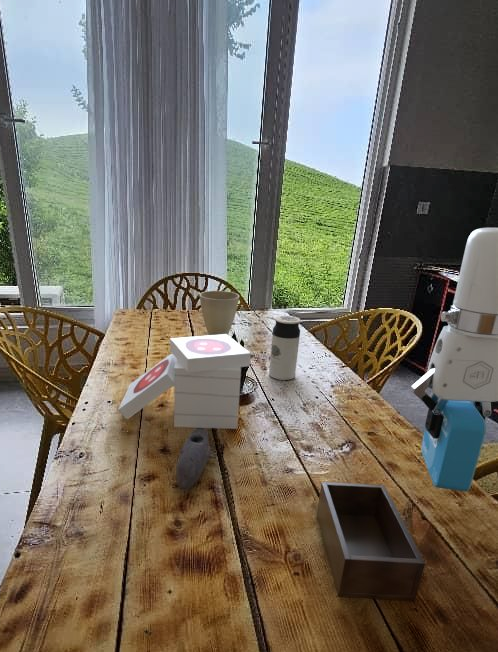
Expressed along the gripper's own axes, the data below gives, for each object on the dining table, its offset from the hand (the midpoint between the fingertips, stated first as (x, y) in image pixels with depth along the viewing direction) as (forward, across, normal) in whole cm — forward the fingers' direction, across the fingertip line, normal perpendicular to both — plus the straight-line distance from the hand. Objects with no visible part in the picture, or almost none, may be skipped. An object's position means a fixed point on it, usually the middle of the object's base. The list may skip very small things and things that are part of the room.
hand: (451, 433), depth 69 cm
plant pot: (+17, -40, +103) cm, 112 cm away
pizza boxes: (+17, -45, +37) cm, 61 cm away
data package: (+7, 0, 0) cm, 7 cm away
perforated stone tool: (+18, -41, +11) cm, 46 cm away
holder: (+18, -13, -7) cm, 23 cm away
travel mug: (+18, -18, +65) cm, 70 cm away
